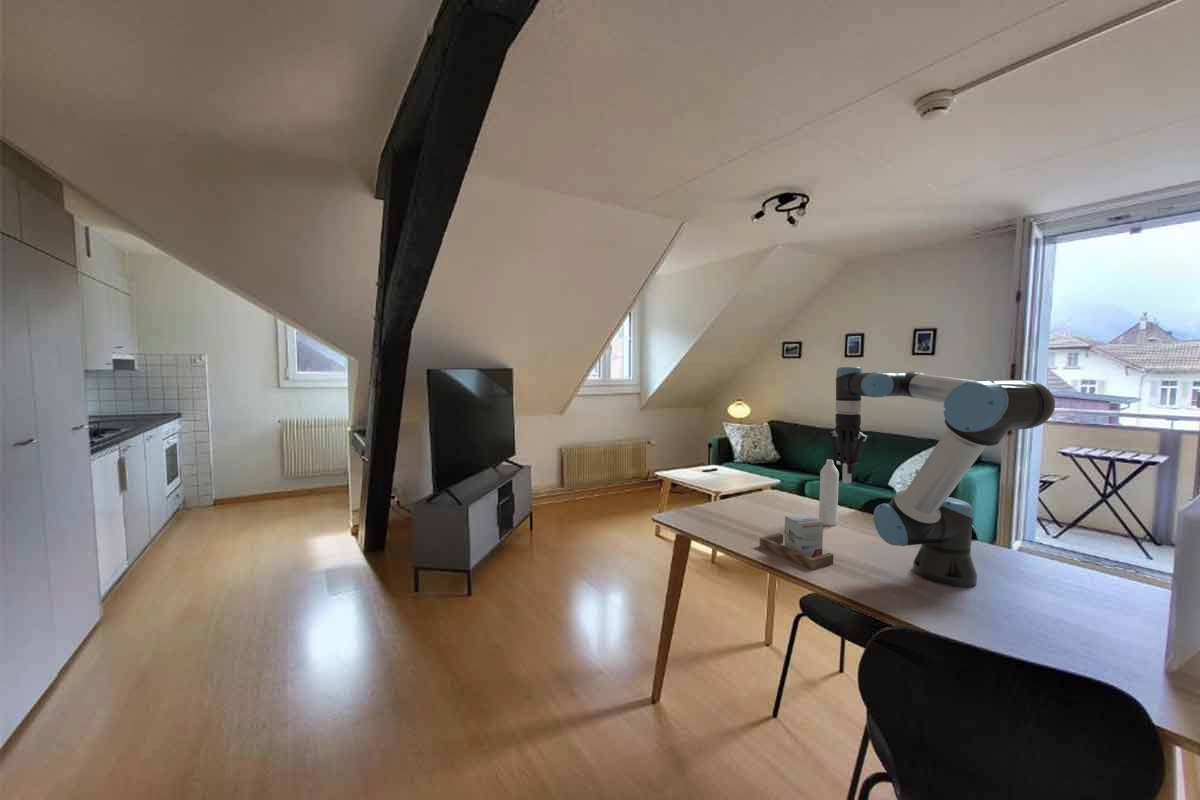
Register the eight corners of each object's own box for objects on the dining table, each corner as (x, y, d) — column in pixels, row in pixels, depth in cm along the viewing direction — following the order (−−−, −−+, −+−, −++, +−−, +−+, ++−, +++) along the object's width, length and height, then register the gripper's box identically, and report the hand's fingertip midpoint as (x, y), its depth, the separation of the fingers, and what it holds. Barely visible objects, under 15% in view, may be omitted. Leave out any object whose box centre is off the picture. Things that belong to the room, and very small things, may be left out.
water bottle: (815, 522, 187) (817, 459, 184) (825, 519, 190) (827, 457, 188) (835, 528, 179) (837, 463, 177) (846, 525, 182) (848, 461, 180)
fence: (833, 563, 148) (833, 554, 148) (812, 570, 144) (812, 560, 144) (779, 541, 167) (779, 533, 167) (759, 546, 163) (759, 537, 162)
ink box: (805, 547, 162) (806, 513, 161) (823, 557, 154) (824, 521, 153) (783, 549, 160) (784, 515, 159) (799, 559, 152) (800, 523, 151)
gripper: (874, 413, 156) (872, 485, 157) (837, 411, 167) (835, 478, 169) (860, 415, 152) (858, 488, 153) (823, 412, 164) (822, 480, 165)
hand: (846, 482), depth 161 cm, fingers closed
